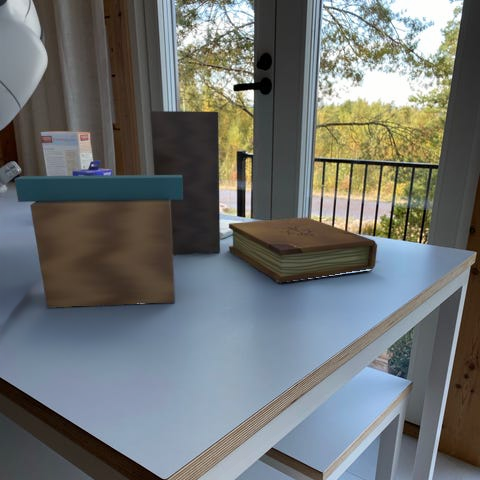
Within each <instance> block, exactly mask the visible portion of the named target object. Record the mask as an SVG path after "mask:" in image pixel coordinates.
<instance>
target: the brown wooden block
mask: <svg viewBox="0 0 480 480" xmlns="http://www.w3.org/2000/svg"><path fill="white" fill-rule="evenodd" d="M29 206H30V213H31V218H32V224H33V230H34V235H35V236H34V237H35V242H36V243H35V244H36V248H37V255H38V260H39V266H40V272H41V278H42V279H41V280H42V284H43V290H44V296H45V302H46V309H57V308H56V307H64V308H73V307H72V306H89V307H105V306H104V305H115V306H124V305H123V304H137V303H139V304H140V303H165V304H171V303H170V302H175V303H176V279H175V261H174V254H173V238H172V219H171V200H115V201H42V202H32V203H31V204H30V205H29ZM168 302H169V303H168ZM120 304H121V305H120ZM96 305H97V306H96ZM100 305H102V306H100ZM140 305H141V304H140ZM70 306H71V307H70Z"/></svg>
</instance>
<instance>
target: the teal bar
mask: <svg viewBox="0 0 480 480" xmlns="http://www.w3.org/2000/svg"><path fill="white" fill-rule="evenodd" d="M13 179H14V185H15V191H16V196H17V202H18V203H34V202H42V201H115V200H183V184H182V175H155V174H135V175H133V174H132V175H131V174H129V175H128V174H127V175H126V174H125V175H119V174H118V175H117V174H116V175H114V174H112V176H47V175H21V176H18V177H14V178H13Z"/></svg>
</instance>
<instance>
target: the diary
mask: <svg viewBox="0 0 480 480" xmlns="http://www.w3.org/2000/svg"><path fill="white" fill-rule="evenodd" d="M241 222H242V223H230V224H229V228H230V229H232V230H233V235H232V245H230V246H228V251H229V250H230V251H231V252H230V251H229V252H230V253H232V252H233V253H234V254H233V253H232V254H233V255H235V254H236V255H237V256H236V255H235V256H236V257H238V256H239V257H240V258H239V257H238V258H239V259H241V258H242V259H241V260H243V261H244V260H245V261H244V262H245V263H247V262H248V263H247V264H248V265H250V264H251V265H250V266H252V265H253V266H254V267H253V266H252V267H253V268H255V267H256V268H255V269H257V270H258V269H259V270H258V271H260V270H261V271H262V272H261V271H260V272H261V273H263V272H264V273H265V274H264V273H263V274H264V275H266V274H267V275H269V276H270V277H272V278H273V279H272V278H271V279H272V280H274V279H275V280H277V281H278V282H287V281H293V280H301V279H308V278H316V277H322V276H329V275H335V274H340V273H346V272H352V271H360V270H366V269H372V270H373V269H374V268H375V267H376V262H377V261H376V260H377V253H378V252H377V251H378V244H377V242H376V240H374V239H371V238H369V237H365V236H363V235H360V234H357V233H354V232H351V231H348V230H345V229H342V228H339V227H337V226H333V225H331V224H328V223H325V222H322V221H319V220H316V219H313V218H310V217H307V216H306V217H296V218H295V217H294V218H282V219H281V218H280V219H269V220H254V221H241ZM267 275H266V276H267ZM269 276H268V277H269ZM270 277H269V278H270ZM275 280H274V281H275ZM277 281H276V282H277ZM278 282H277V283H278Z"/></svg>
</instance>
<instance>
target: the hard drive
mask: <svg viewBox="0 0 480 480" xmlns="http://www.w3.org/2000/svg"><path fill="white" fill-rule="evenodd" d="M242 222H243V221H240V220H239V221H238V220H231V219H230V220H229V219H222V218H220V238H221V239H220V240H223V239H226V238H229V237H231V236H233V230H232V229H230V228H229V224H230V223H242Z"/></svg>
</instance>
